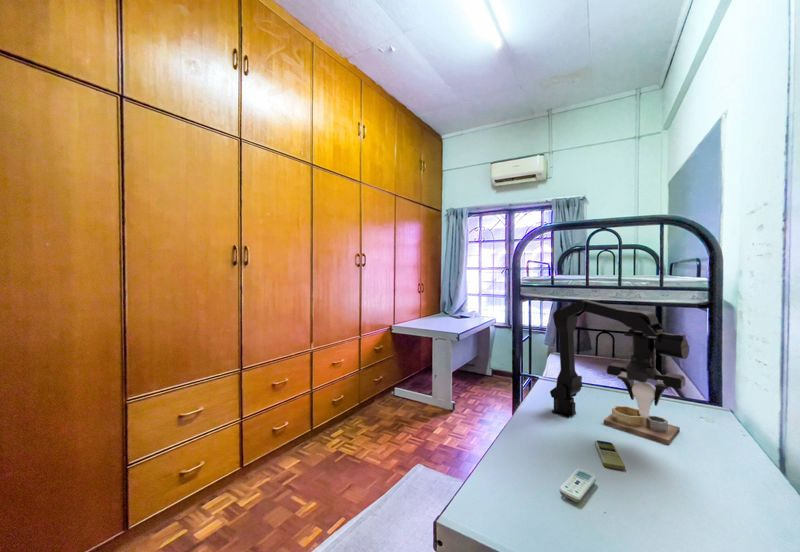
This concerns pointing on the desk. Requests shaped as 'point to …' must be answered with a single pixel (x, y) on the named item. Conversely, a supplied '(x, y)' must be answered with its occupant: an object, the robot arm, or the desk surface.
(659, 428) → the grey small collar
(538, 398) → the desk surface
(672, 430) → the walnut board
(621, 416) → the brass collar
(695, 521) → the desk surface
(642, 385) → the lightbulb
